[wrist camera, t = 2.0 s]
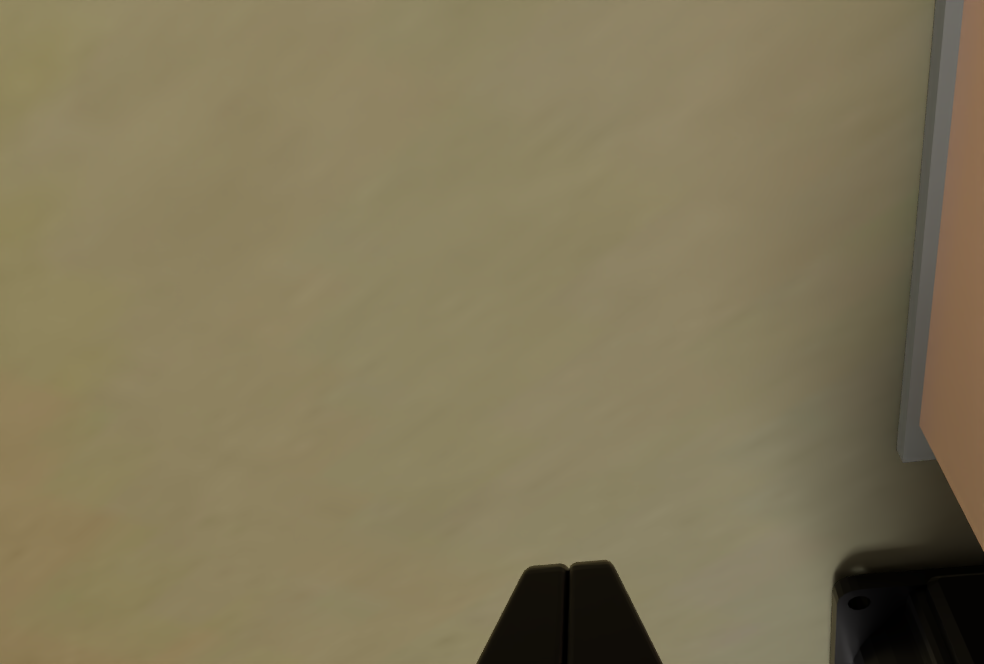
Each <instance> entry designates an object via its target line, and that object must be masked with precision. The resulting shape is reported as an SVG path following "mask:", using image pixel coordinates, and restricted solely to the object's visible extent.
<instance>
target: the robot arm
mask: <svg viewBox="0 0 984 664" xmlns="http://www.w3.org/2000/svg"><path fill="white" fill-rule="evenodd" d="M476 664H663V663H662V661H661V659H660V657H659V655H658V653H657V651H656V649H655V647H654V645H653V643H652V641H651V639H650V637H649V635H648V633H647V631H646V629H645V627H644V625H643V623H642V621H641V619H640V617H639V615H638V613H637V611H636V609H635V607H634V605H633V603H632V601H631V599H630V597H629V595H628V593H627V591H626V589H625V587H624V585H623V583H622V581H621V579H620V577H619V575H618V573H617V571H616V569H615V567H614V566H613V564H612V563H611V562H610V561H607V560H598V561H586V562H576V563H573V564H572V565H571V566H570V568H568V567H567V566H566V565H564V564H549V565H537V566H531V567H529V568H527V569H526V570H525V571H524V572H523V574H522V576H521V578H520V579H519V581H518V583H517V585H516V587H515V589H514V591H513V593H512V595H511V597H510V599H509V601H508V603H507V605H506V607H505V609H504V611H503V613H502V615H501V617H500V619H499V621H498V622H497V624H496V626H495V628H494V630H493V632H492V634H491V636H490V638H489V640H488V642H487V644H486V646H485V648H484V650H483V652H482V654H481V656H480V658H479V660H478V662H477V663H476ZM830 664H984V566H971V567H958V568H945V569H932V570H919V571H906V572H893V573H880V574H867V575H855V576H849V577H846V578H844V579H842V580H839V581H838V582H837V583H836V584H835V585H834V588H833V591H832V618H831V646H830Z"/></svg>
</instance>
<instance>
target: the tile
mask: <svg viewBox="0 0 984 664" xmlns="http://www.w3.org/2000/svg"><path fill="white" fill-rule="evenodd" d="M919 426H920V428H921V430H922V432H923V434H924V436H925V438H926V440H927V442H928V443H929V445H930V447H931V449H932V451H933V453H934V455H935V457H936V459H937V461H938V463H939V465H940V467H941V469H942V471H943V473H944V475H945V477H946V479H947V481H948V483H949V485H950V487H951V489H952V491H953V492H954V494H955V496H956V498H957V500H958V502H959V504H960V506H961V508H962V510H963V512H964V514H965V516H966V518H967V520H968V522H969V524H970V526H971V528H972V530H973V532H974V534H975V536H976V538H977V540H978V542H979V543H980V545H981V547H982V549H983V551H984V0H964V6H963V15H962V25H961V34H960V44H959V53H958V63H957V72H956V82H955V91H954V100H953V110H952V119H951V129H950V138H949V148H948V157H947V167H946V176H945V186H944V195H943V205H942V214H941V224H940V233H939V243H938V252H937V262H936V271H935V281H934V290H933V300H932V309H931V319H930V328H929V338H928V347H927V357H926V366H925V376H924V385H923V395H922V404H921V414H920V423H919Z"/></svg>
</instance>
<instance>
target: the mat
mask: <svg viewBox="0 0 984 664" xmlns="http://www.w3.org/2000/svg"><path fill="white" fill-rule="evenodd" d="M963 6H964V0H936V3H935V14H934V26H933V37H932V49H931V60H930V72H929V83H928V95H927V106H926V117H925V129H924V140H923V152H922V163H921V175H920V186H919V197H918V209H917V220H916V232H915V243H914V255H913V266H912V278H911V289H910V300H909V312H908V323H907V335H906V346H905V358H904V369H903V380H902V392H901V403H900V415H899V426H898V438H897V452H898V454H899V456H900V458H901V460H902V462H903V463H905V462H915V461H926V460H936V457H935V455H934V453H933V451H932V449H931V447H930V445H929V443H928V442H927V440H926V438H925V436H924V434H923V432H922V430H921V428H920V426H919V423H920V414H921V404H922V395H923V385H924V376H925V366H926V357H927V347H928V338H929V328H930V319H931V309H932V300H933V290H934V281H935V271H936V262H937V252H938V243H939V233H940V224H941V214H942V205H943V195H944V186H945V176H946V167H947V157H948V148H949V138H950V129H951V119H952V110H953V100H954V91H955V82H956V72H957V63H958V53H959V44H960V34H961V25H962V15H963Z"/></svg>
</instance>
